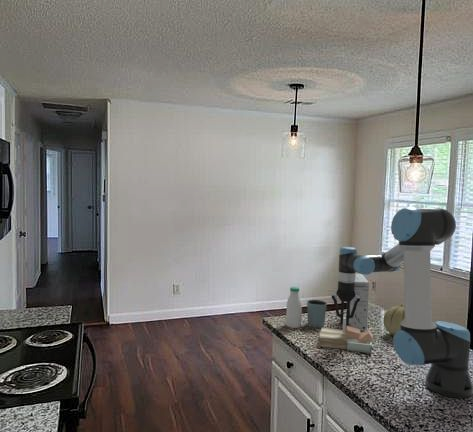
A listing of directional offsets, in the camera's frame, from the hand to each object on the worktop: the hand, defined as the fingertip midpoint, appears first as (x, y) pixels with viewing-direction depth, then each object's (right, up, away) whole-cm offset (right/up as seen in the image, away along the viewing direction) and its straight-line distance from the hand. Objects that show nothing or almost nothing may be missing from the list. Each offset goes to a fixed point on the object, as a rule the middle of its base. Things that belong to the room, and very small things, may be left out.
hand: (344, 331), depth 191 cm
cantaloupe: (+30, -6, +12) cm, 32 cm away
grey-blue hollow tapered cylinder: (-8, -4, +26) cm, 28 cm away
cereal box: (+14, -4, +29) cm, 32 cm away
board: (-4, -5, +2) cm, 7 cm away
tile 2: (+8, -1, -2) cm, 8 cm away
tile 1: (+3, -2, -1) cm, 4 cm away
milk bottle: (-20, -4, +24) cm, 31 cm away
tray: (+7, -6, -2) cm, 9 cm away
